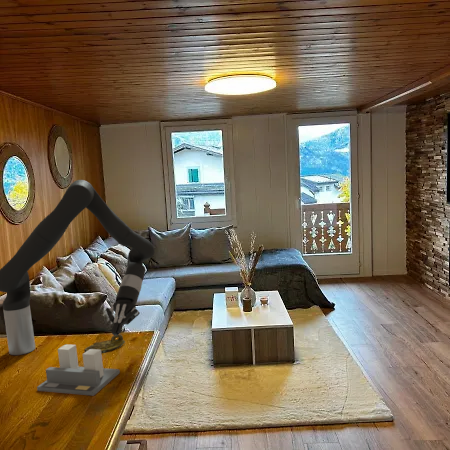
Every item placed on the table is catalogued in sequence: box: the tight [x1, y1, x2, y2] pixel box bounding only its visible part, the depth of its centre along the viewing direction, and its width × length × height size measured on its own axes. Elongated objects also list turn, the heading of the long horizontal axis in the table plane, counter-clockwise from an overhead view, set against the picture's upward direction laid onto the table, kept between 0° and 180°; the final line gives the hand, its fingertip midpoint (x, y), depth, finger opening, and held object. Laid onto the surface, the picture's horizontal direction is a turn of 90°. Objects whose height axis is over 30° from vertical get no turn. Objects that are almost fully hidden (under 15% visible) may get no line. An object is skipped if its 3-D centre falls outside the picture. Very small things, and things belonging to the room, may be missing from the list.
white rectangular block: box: [57, 343, 80, 369], centre depth 147 cm, size 4×4×8 cm
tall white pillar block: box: [82, 349, 104, 378], centre depth 141 cm, size 4×4×8 cm
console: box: [36, 366, 121, 396], centre depth 143 cm, size 15×20×5 cm
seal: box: [84, 333, 126, 354], centre depth 170 cm, size 9×5×15 cm
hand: (115, 334), depth 154 cm, fingers closed
